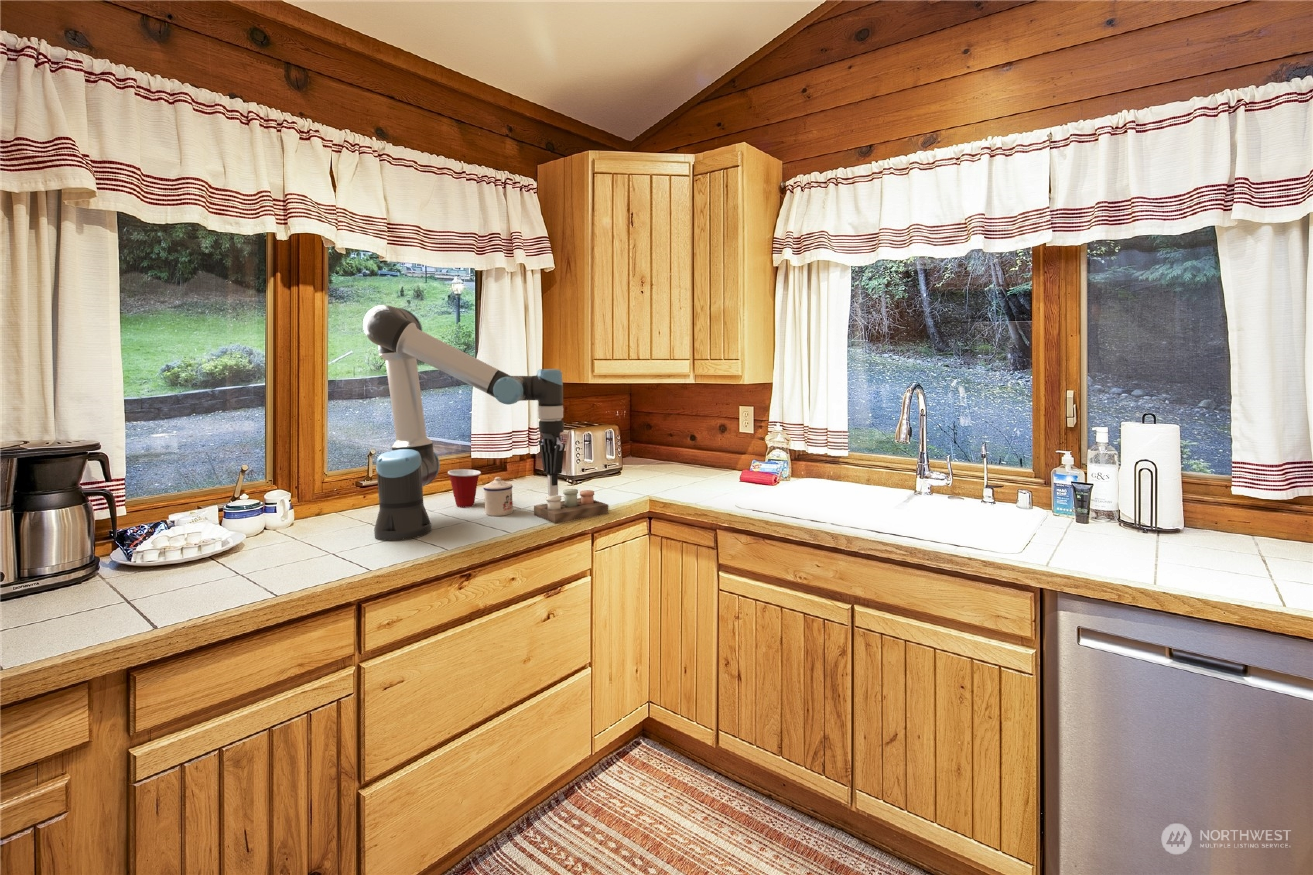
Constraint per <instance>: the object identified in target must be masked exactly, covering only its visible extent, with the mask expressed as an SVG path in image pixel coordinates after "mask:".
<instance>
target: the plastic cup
mask: <svg viewBox="0 0 1313 875" xmlns="http://www.w3.org/2000/svg"><path fill="white" fill-rule="evenodd" d="M481 474H482V472H481V471H480V470H476V469H467V468H466V469H464V468H461V469H459V468H458V469H451V470H447V475H448V476H449V480H450V484H451V488H452V493H453V497H454V501H455V506H456V507H457V508H469V507H474V506H475V501H476V495H477V489H478V488H477V487H478V481H479V477H480V475H481Z"/></svg>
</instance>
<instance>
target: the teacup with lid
mask: <svg viewBox="0 0 1313 875" xmlns="http://www.w3.org/2000/svg"><path fill="white" fill-rule="evenodd" d="M513 487H514V486H513V484H512V483H510V482H507V481H505V480H503V479H502V478H501V477H500V476H496V477H494V480H492V481H491V482H489V483H487V484H484V485H483V490H484V492H483V493H484V509H485V510H484V511H485V515H487V516H490V517H501V516H507V515H511V514H512V513H513V511H514V506H513V502H514V501H513Z"/></svg>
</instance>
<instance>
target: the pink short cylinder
mask: <svg viewBox="0 0 1313 875" xmlns="http://www.w3.org/2000/svg"><path fill="white" fill-rule="evenodd" d="M594 495H595V490H590V489H589V490H585V489H584V490H580V491H579V496H580V498H581V504H584V505H587V504H593V503H594V500H595V499H594Z"/></svg>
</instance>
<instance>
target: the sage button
mask: <svg viewBox="0 0 1313 875" xmlns="http://www.w3.org/2000/svg"><path fill="white" fill-rule="evenodd" d="M578 494H579V489H576V488H567V489H563V494H562V495H563V496H564V501H565V507H567V508H570V507H575V506H577V499H578Z"/></svg>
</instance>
